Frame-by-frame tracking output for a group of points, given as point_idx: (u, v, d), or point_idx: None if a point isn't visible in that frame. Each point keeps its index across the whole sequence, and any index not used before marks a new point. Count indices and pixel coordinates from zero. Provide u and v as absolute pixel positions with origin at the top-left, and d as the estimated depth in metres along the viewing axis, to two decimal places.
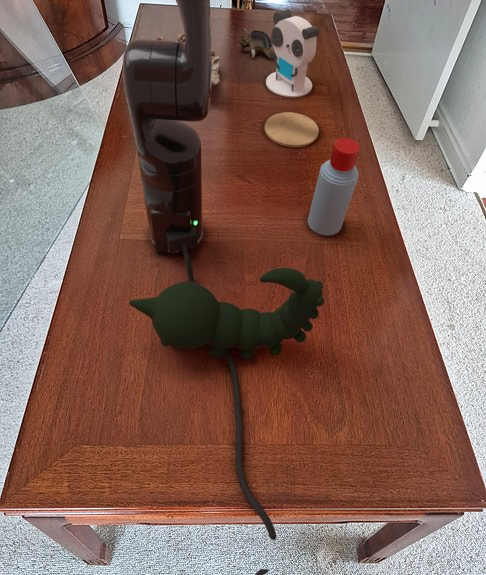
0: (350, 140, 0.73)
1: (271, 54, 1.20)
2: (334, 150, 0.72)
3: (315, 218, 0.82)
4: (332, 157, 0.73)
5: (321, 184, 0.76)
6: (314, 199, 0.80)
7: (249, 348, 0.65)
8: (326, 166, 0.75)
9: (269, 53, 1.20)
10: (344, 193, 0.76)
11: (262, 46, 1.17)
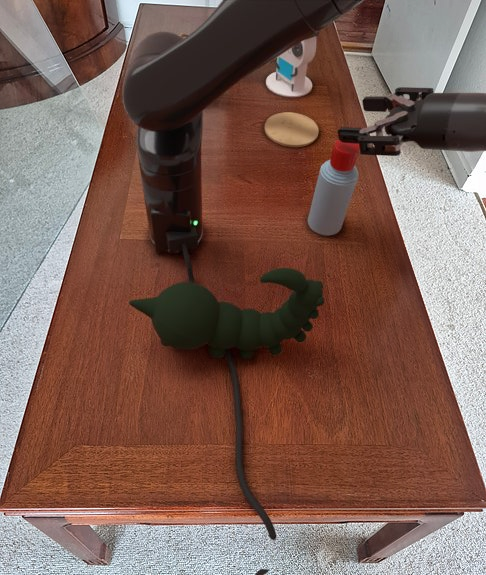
0: None
1: None
2: (334, 150, 0.72)
3: (315, 218, 0.82)
4: (332, 157, 0.73)
5: (321, 184, 0.76)
6: (314, 199, 0.80)
7: (249, 348, 0.65)
8: (326, 166, 0.75)
9: None
10: (344, 193, 0.76)
11: None
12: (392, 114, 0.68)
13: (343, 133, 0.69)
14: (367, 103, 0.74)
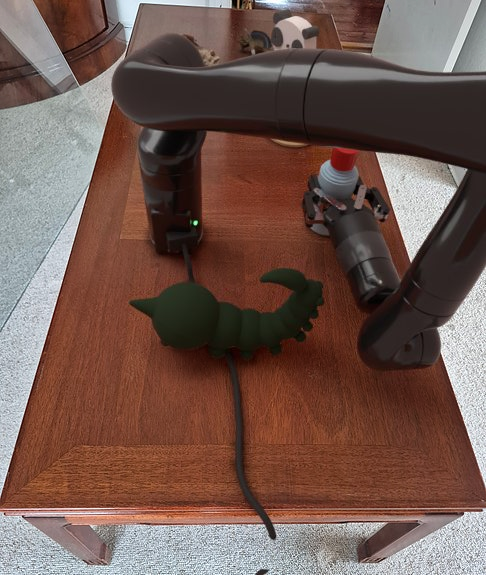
0: None
1: None
2: (334, 150, 0.72)
3: None
4: (332, 157, 0.73)
5: (322, 183, 0.76)
6: None
7: (249, 348, 0.65)
8: (326, 166, 0.75)
9: None
10: (344, 193, 0.76)
11: (262, 46, 1.17)
12: (343, 201, 0.75)
13: (310, 179, 0.78)
14: None
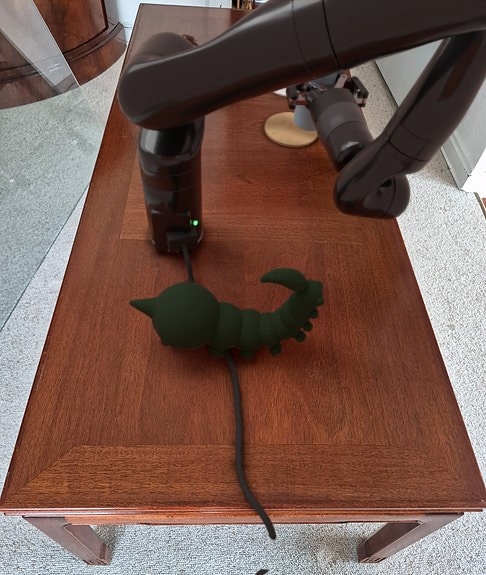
0: None
1: None
2: None
3: (299, 112, 0.86)
4: None
5: None
6: None
7: (249, 348, 0.65)
8: None
9: None
10: (325, 79, 0.80)
11: None
12: (325, 86, 0.79)
13: None
14: None
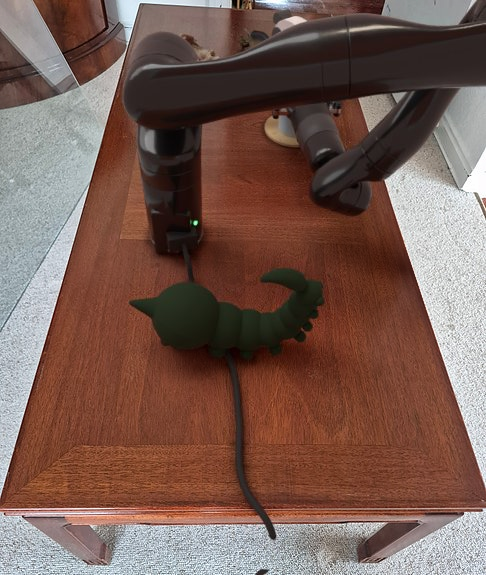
0: None
1: None
2: None
3: (283, 120, 0.98)
4: None
5: None
6: None
7: (249, 348, 0.65)
8: None
9: None
10: None
11: None
12: None
13: None
14: None
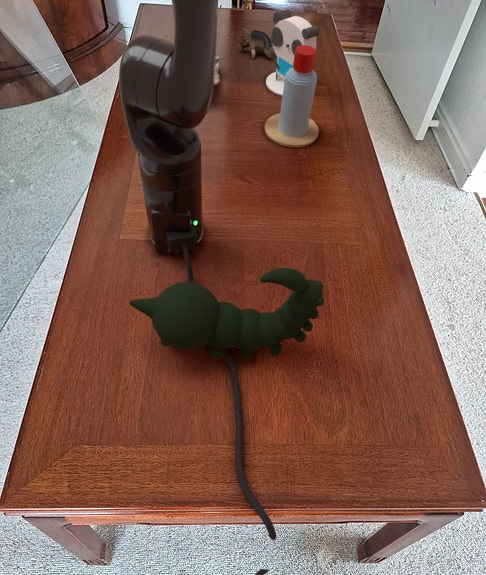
0: (309, 46, 0.88)
1: (271, 54, 1.20)
2: (295, 54, 0.88)
3: (283, 120, 0.98)
4: (294, 61, 0.89)
5: (286, 86, 0.92)
6: (282, 103, 0.96)
7: (249, 348, 0.65)
8: (290, 71, 0.91)
9: (269, 53, 1.20)
10: (305, 93, 0.91)
11: (262, 46, 1.17)
12: None
13: None
14: None
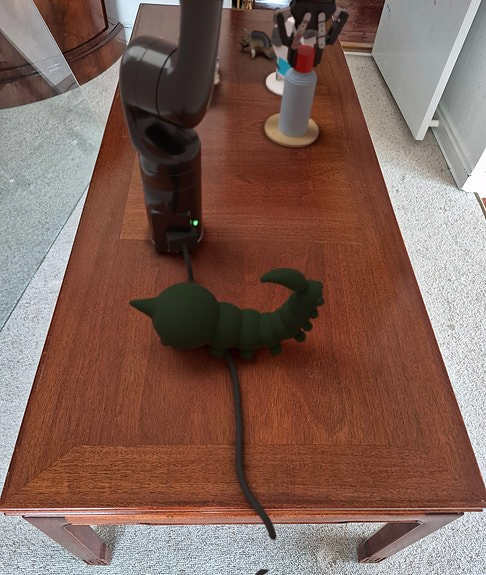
0: (308, 46, 0.88)
1: (271, 54, 1.20)
2: None
3: (283, 120, 0.98)
4: None
5: (286, 86, 0.92)
6: (282, 103, 0.96)
7: (249, 348, 0.65)
8: (290, 71, 0.91)
9: (269, 53, 1.20)
10: (305, 93, 0.91)
11: (262, 46, 1.17)
12: (312, 26, 0.83)
13: (319, 61, 0.89)
14: None
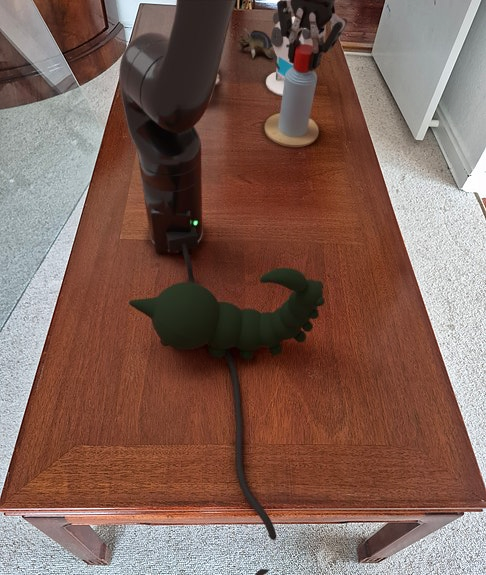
0: (298, 49, 0.87)
1: (271, 54, 1.20)
2: None
3: (283, 120, 0.98)
4: None
5: (286, 86, 0.92)
6: (282, 103, 0.96)
7: (249, 348, 0.65)
8: (290, 70, 0.91)
9: (269, 53, 1.20)
10: (305, 93, 0.91)
11: (262, 46, 1.17)
12: None
13: None
14: None
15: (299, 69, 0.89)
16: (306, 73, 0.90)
